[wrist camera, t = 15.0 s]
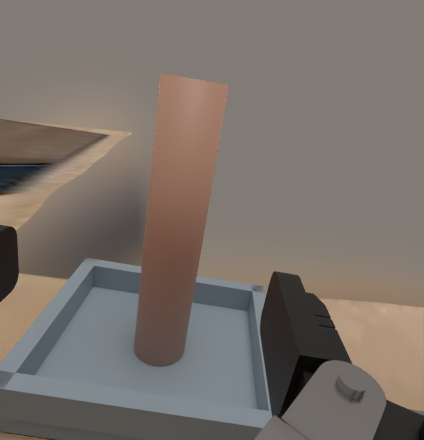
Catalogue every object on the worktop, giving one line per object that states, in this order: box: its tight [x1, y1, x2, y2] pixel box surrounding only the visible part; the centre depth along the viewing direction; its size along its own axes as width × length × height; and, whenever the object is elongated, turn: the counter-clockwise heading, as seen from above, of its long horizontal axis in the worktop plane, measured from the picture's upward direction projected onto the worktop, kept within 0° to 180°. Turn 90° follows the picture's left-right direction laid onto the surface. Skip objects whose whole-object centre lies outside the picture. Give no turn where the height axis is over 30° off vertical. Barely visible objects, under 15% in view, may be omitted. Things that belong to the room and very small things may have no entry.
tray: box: [0, 258, 272, 440], centre depth 23 cm, size 15×13×3 cm
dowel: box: [134, 73, 229, 367], centre depth 20 cm, size 3×3×17 cm
